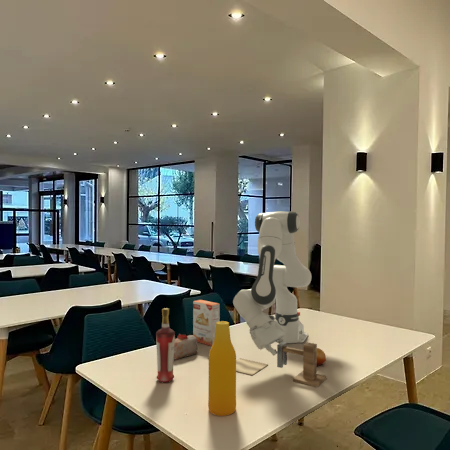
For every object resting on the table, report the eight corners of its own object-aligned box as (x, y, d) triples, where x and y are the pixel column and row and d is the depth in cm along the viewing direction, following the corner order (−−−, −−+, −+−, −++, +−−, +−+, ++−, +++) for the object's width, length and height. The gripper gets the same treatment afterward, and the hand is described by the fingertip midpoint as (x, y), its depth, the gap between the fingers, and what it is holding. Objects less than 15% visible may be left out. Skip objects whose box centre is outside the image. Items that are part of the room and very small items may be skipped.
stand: (283, 368, 170) (283, 335, 170) (326, 378, 160) (326, 343, 160) (273, 376, 162) (273, 341, 162) (317, 387, 152) (317, 350, 151)
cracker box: (192, 341, 208) (192, 300, 208) (200, 338, 213) (201, 299, 212) (211, 347, 199) (211, 304, 198) (220, 344, 203) (220, 303, 203)
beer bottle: (203, 413, 130) (204, 324, 130) (214, 401, 139) (214, 318, 139) (230, 418, 127) (230, 327, 127) (239, 406, 136) (240, 320, 135)
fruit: (310, 355, 183) (318, 342, 180) (323, 368, 178) (331, 355, 175) (299, 359, 177) (307, 346, 174) (312, 373, 172) (321, 359, 169)
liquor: (157, 376, 161) (158, 306, 161) (176, 376, 161) (176, 307, 161) (154, 383, 154) (154, 311, 153) (173, 384, 154) (173, 311, 153)
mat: (240, 358, 182) (240, 358, 182) (267, 365, 174) (267, 364, 174) (223, 368, 170) (223, 367, 170) (252, 375, 162) (252, 374, 162)
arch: (282, 363, 168) (282, 341, 167) (286, 364, 167) (287, 342, 166) (277, 366, 163) (277, 344, 163) (281, 367, 162) (281, 345, 162)
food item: (175, 361, 179) (175, 339, 178) (165, 356, 185) (165, 335, 184) (199, 354, 188) (199, 333, 188) (188, 350, 194) (188, 330, 194)
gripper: (252, 324, 160) (274, 353, 155) (275, 315, 177) (295, 340, 172) (242, 334, 163) (264, 363, 158) (266, 323, 180) (286, 349, 175)
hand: (280, 351), depth 165 cm, fingers open, 8 cm apart
